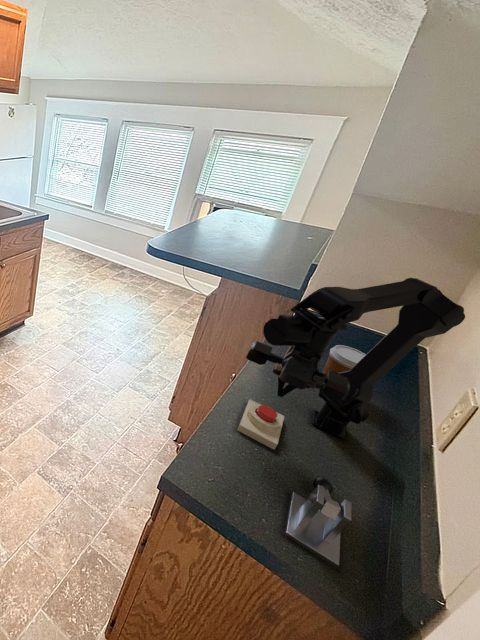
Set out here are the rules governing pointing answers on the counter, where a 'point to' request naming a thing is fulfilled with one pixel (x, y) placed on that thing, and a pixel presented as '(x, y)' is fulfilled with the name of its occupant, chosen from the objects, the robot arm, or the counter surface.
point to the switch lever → (327, 498)
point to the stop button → (266, 413)
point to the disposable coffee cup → (342, 359)
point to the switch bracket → (317, 525)
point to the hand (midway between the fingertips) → (279, 395)
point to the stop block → (260, 426)
